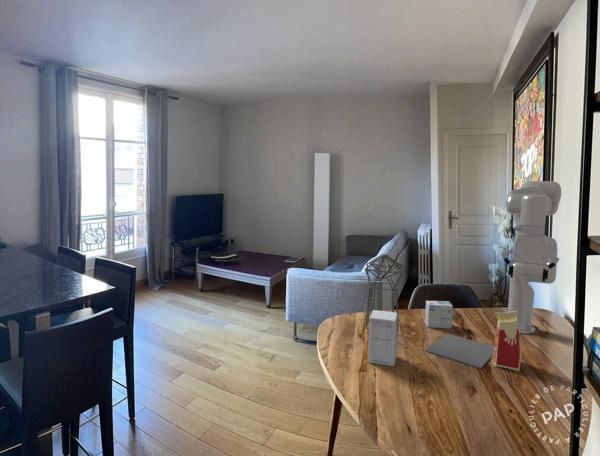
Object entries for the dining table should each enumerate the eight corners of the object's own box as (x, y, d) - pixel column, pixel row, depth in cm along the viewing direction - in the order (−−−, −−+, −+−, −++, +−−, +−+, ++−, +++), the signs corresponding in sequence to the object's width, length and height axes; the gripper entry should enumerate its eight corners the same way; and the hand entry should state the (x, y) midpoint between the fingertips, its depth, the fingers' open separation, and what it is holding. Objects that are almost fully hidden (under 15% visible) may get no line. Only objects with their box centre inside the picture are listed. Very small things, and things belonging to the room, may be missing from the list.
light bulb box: (447, 323, 173) (449, 301, 172) (452, 329, 167) (453, 305, 165) (424, 322, 174) (425, 299, 173) (427, 327, 168) (428, 304, 166)
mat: (446, 334, 160) (446, 333, 160) (497, 349, 147) (498, 347, 147) (425, 351, 143) (425, 350, 143) (480, 369, 130) (480, 367, 130)
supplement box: (396, 355, 140) (398, 312, 138) (394, 367, 131) (396, 320, 129) (370, 351, 143) (372, 309, 141) (367, 362, 134) (368, 317, 132)
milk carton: (518, 360, 137) (522, 307, 135) (520, 371, 129) (525, 315, 127) (490, 355, 141) (494, 304, 139) (491, 366, 133) (495, 311, 131)
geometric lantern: (362, 341, 152) (364, 256, 148) (364, 328, 167) (366, 250, 164) (402, 345, 148) (405, 258, 145) (401, 331, 163) (404, 252, 160)
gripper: (502, 229, 131) (498, 277, 132) (562, 233, 122) (557, 285, 124) (503, 228, 137) (499, 273, 139) (560, 231, 128) (556, 280, 130)
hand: (527, 279), depth 131 cm, fingers open, 9 cm apart
